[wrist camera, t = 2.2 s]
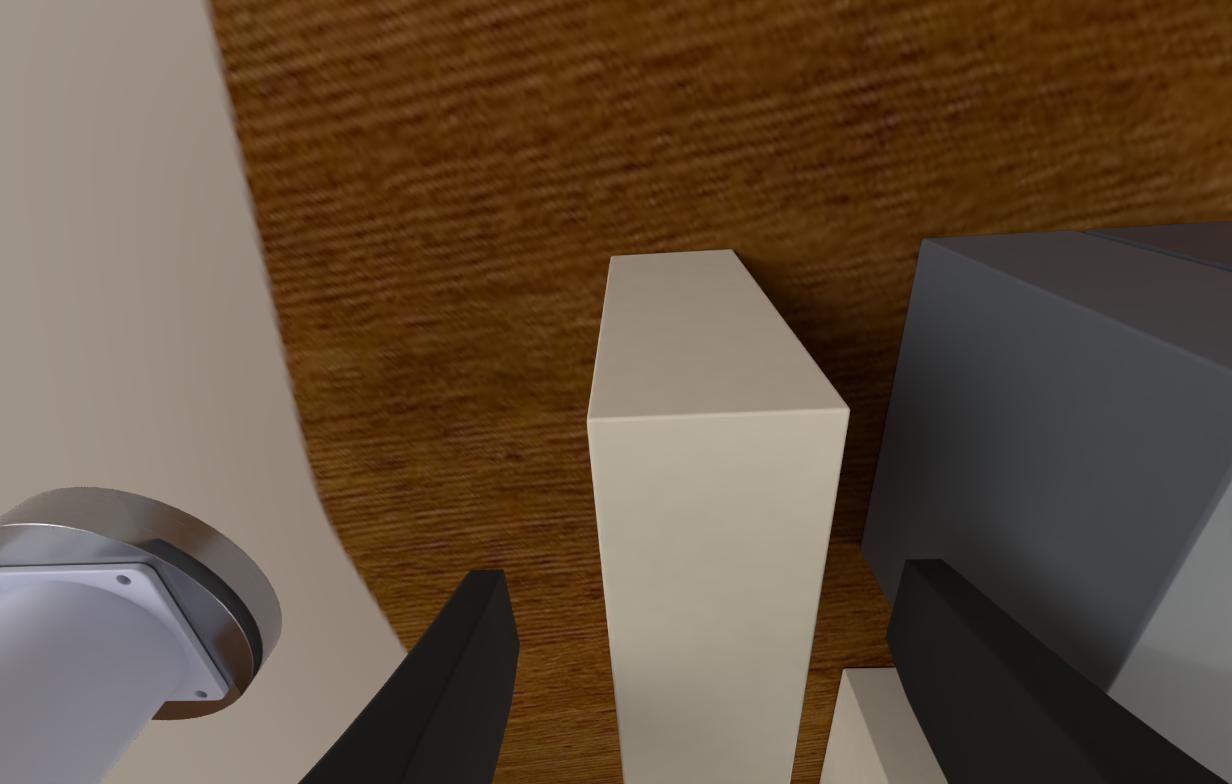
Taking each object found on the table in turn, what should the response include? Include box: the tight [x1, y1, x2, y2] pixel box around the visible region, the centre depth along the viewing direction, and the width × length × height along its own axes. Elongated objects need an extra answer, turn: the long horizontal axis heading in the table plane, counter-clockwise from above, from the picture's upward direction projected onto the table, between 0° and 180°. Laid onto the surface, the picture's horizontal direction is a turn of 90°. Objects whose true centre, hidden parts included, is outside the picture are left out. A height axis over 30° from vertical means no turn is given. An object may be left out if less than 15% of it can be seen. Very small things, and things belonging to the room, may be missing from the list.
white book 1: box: [587, 249, 850, 784], centre depth 12 cm, size 3×10×8 cm, turn 4°
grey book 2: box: [1084, 221, 1232, 272], centre depth 11 cm, size 4×10×8 cm, turn 4°
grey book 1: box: [861, 230, 1232, 784], centre depth 11 cm, size 4×10×8 cm, turn 4°
